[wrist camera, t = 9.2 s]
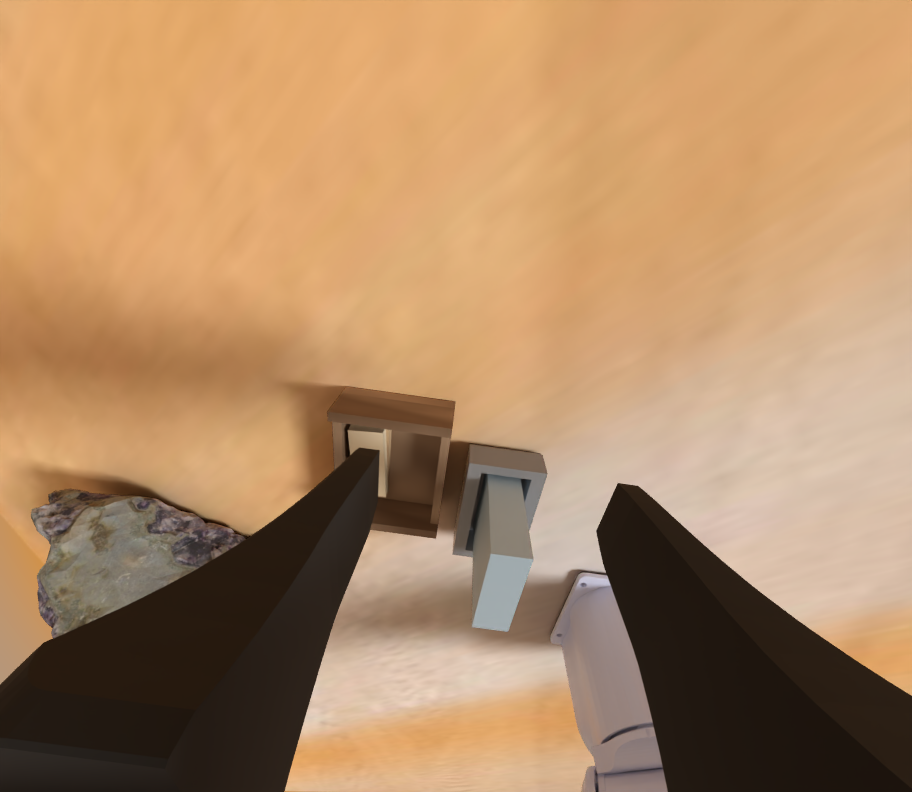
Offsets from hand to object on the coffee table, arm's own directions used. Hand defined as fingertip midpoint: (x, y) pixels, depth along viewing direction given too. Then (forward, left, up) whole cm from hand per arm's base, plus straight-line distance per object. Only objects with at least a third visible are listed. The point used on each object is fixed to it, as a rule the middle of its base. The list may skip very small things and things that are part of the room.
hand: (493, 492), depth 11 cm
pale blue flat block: (-10, -2, -10) cm, 14 cm away
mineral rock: (-16, +20, -11) cm, 28 cm away
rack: (-7, +5, -10) cm, 13 cm away
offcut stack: (-7, +6, -10) cm, 13 cm away
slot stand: (-10, -2, -10) cm, 14 cm away
